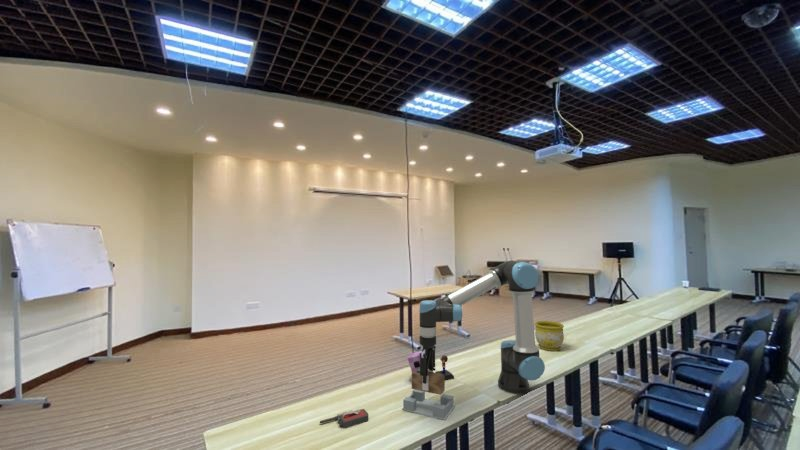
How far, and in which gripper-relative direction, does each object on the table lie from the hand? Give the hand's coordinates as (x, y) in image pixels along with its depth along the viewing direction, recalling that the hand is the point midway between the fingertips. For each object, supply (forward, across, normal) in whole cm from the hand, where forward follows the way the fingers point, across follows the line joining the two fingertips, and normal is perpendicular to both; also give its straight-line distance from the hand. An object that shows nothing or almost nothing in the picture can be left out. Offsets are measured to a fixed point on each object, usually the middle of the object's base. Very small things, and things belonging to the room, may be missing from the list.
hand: (427, 387), depth 155 cm
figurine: (+9, -35, -5) cm, 36 cm away
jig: (+9, 0, 0) cm, 9 cm away
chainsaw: (+10, +26, -27) cm, 38 cm away
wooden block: (+1, 0, 0) cm, 1 cm away
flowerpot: (+8, -112, +44) cm, 120 cm away
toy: (+9, -26, -15) cm, 31 cm away
